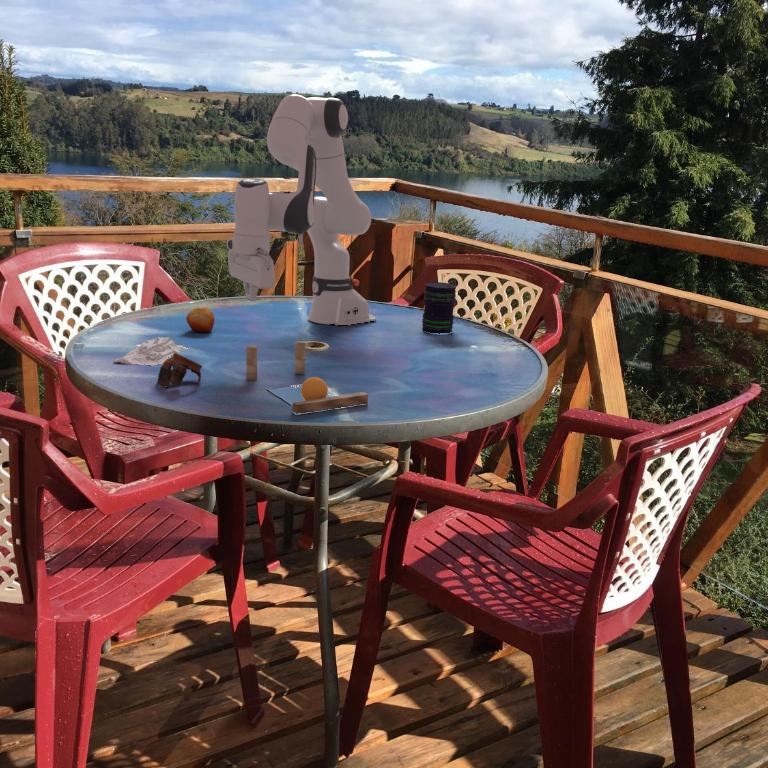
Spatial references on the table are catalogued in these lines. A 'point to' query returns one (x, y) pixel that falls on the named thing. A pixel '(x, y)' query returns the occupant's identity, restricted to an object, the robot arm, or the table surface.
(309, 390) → the ball
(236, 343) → the table surface
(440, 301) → the storage jar
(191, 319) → the fruit
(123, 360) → the terrain model
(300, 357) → the post
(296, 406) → the stopper wall
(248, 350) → the post
